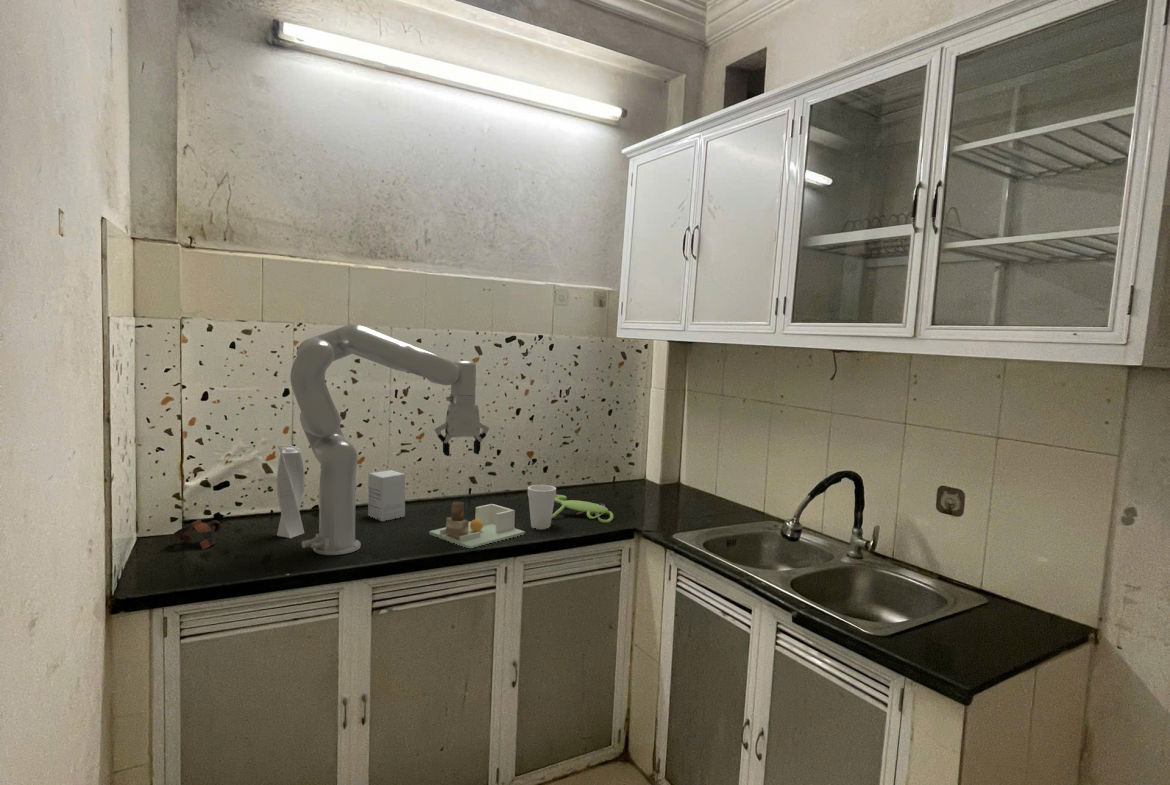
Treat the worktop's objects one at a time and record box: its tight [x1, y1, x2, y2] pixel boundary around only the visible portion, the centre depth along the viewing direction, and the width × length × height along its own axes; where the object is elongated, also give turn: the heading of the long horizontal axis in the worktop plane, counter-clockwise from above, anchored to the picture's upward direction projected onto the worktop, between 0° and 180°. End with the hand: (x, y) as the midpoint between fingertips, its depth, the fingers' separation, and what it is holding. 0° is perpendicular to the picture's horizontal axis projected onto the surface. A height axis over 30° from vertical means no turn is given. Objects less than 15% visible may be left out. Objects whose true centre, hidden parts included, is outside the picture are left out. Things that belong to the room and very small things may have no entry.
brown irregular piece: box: [173, 519, 222, 550], centre depth 180 cm, size 12×10×8 cm
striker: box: [445, 501, 470, 539], centre depth 192 cm, size 4×7×10 cm, turn 49°
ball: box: [470, 519, 483, 532], centre depth 198 cm, size 4×4×4 cm
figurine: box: [552, 494, 614, 524], centre depth 227 cm, size 18×27×6 cm
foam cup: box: [527, 484, 557, 530], centre depth 210 cm, size 10×9×13 cm
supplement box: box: [367, 469, 406, 522], centre depth 214 cm, size 9×9×15 cm
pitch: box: [428, 503, 526, 549], centre depth 199 cm, size 22×20×7 cm
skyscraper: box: [276, 444, 306, 539], centre depth 190 cm, size 8×8×28 cm
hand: (461, 454), depth 199 cm, fingers open, 9 cm apart
